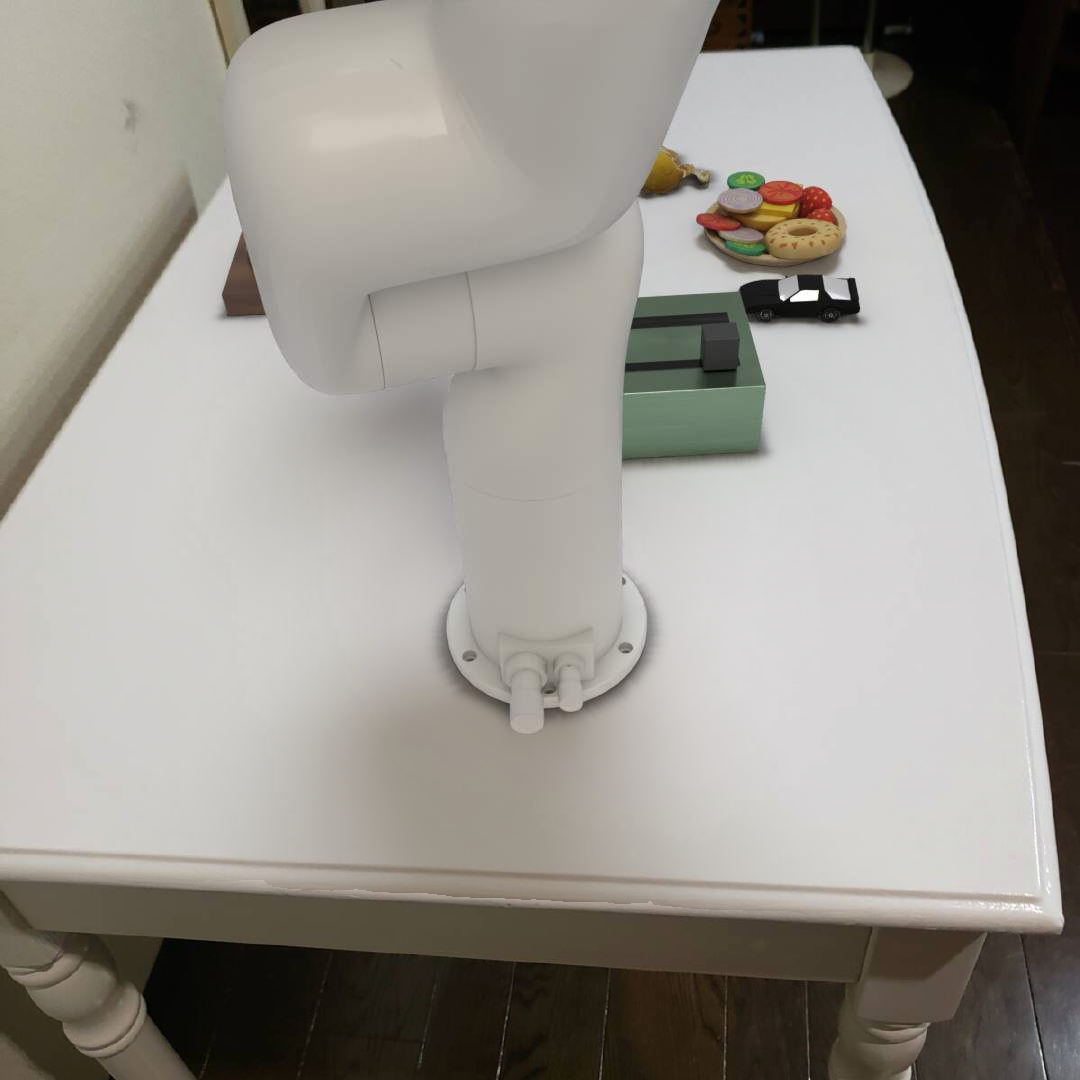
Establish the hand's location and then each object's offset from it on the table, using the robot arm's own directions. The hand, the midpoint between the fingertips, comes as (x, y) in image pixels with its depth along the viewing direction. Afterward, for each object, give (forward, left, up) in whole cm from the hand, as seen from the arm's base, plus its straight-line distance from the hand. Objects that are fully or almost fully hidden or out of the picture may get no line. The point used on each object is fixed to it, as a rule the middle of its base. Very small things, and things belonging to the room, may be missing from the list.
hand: (391, 17), depth 73 cm
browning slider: (-11, -21, -21) cm, 32 cm away
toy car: (+4, -30, -27) cm, 41 cm away
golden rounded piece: (+28, -22, -27) cm, 45 cm away
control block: (+14, +14, -27) cm, 33 cm away
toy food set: (+16, -30, -27) cm, 44 cm away
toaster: (-8, -18, -27) cm, 34 cm away
